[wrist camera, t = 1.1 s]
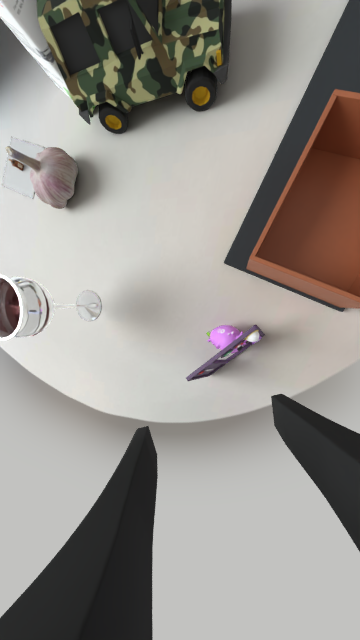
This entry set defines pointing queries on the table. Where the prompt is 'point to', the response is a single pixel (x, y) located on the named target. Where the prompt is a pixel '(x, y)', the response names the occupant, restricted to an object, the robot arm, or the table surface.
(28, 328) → the wineglass
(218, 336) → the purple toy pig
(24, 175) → the white tile
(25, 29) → the ink box
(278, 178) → the mat
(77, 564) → the robot arm
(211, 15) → the toy car
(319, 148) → the bin
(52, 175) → the garlic bulb
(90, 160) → the table surface
